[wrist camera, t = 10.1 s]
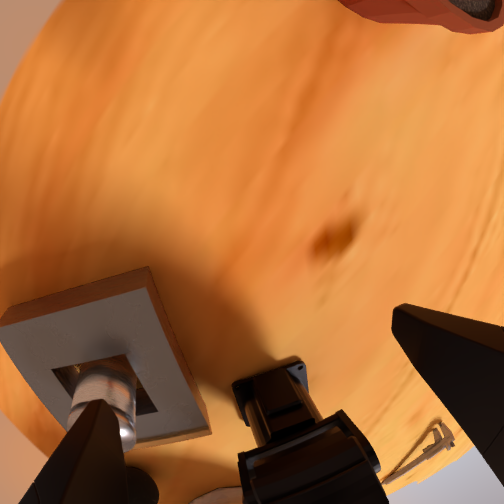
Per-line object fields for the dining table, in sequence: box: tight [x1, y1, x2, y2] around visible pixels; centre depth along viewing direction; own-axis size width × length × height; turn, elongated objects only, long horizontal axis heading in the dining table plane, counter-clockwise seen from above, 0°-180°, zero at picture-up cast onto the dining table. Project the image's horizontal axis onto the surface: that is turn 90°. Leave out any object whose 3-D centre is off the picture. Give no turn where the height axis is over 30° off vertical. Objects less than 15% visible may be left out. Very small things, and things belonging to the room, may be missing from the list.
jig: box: [0, 267, 212, 450], centre depth 19 cm, size 14×12×3 cm
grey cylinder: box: [67, 354, 137, 453], centre depth 18 cm, size 4×4×7 cm
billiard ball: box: [126, 467, 159, 504], centre depth 23 cm, size 6×6×6 cm
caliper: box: [381, 423, 455, 485], centre depth 42 cm, size 20×1×6 cm, turn 159°
